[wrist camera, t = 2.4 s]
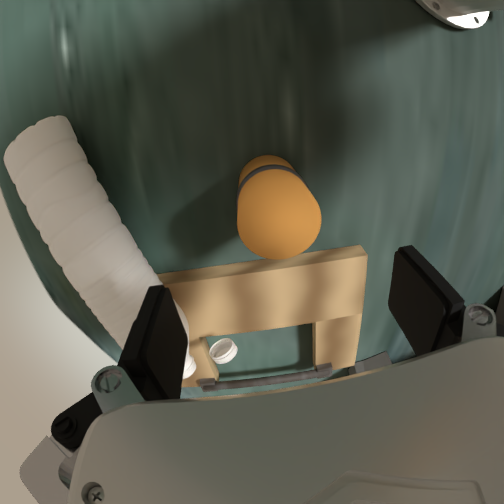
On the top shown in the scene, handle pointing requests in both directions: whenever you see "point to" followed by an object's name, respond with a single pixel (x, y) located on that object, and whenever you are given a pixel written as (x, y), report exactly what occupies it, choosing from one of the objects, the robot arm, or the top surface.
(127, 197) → the top surface
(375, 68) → the top surface
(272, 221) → the banded orange cylinder
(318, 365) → the oak frame
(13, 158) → the water bottle
